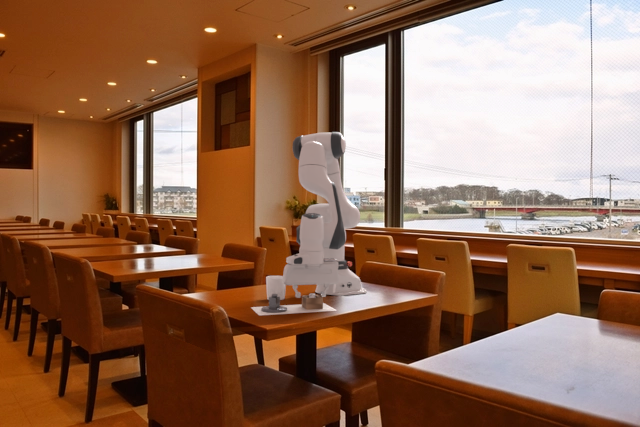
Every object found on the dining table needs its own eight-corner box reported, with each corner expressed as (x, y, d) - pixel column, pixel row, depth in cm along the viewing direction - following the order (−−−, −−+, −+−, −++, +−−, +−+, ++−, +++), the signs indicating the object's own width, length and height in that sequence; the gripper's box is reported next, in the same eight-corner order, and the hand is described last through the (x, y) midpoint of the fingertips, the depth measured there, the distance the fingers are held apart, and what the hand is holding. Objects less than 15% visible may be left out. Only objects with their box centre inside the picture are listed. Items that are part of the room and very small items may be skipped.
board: (323, 306, 194) (323, 303, 194) (337, 314, 181) (337, 310, 181) (250, 311, 185) (250, 307, 184) (259, 319, 171) (259, 315, 171)
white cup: (290, 302, 202) (290, 277, 202) (275, 305, 196) (275, 279, 196) (276, 299, 208) (276, 274, 207) (261, 302, 202) (261, 276, 202)
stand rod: (314, 306, 186) (314, 293, 186) (316, 308, 184) (316, 294, 184) (308, 307, 186) (308, 293, 185) (310, 308, 183) (310, 294, 183)
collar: (317, 305, 189) (317, 294, 189) (322, 308, 183) (322, 297, 183) (301, 306, 187) (301, 295, 187) (306, 309, 181) (306, 298, 181)
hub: (283, 306, 186) (283, 291, 186) (290, 311, 177) (290, 295, 177) (258, 308, 183) (259, 292, 183) (264, 313, 174) (264, 296, 174)
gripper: (335, 257, 191) (334, 294, 191) (281, 258, 184) (281, 296, 184) (341, 259, 185) (340, 297, 185) (286, 259, 178) (285, 299, 178)
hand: (310, 297), depth 184 cm, fingers open, 8 cm apart
